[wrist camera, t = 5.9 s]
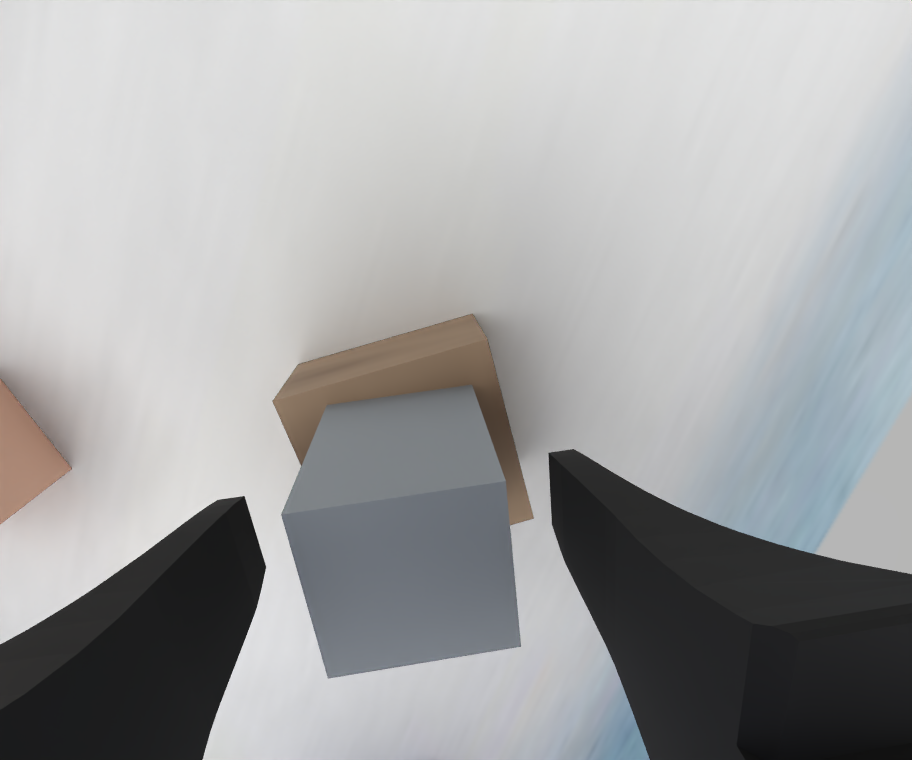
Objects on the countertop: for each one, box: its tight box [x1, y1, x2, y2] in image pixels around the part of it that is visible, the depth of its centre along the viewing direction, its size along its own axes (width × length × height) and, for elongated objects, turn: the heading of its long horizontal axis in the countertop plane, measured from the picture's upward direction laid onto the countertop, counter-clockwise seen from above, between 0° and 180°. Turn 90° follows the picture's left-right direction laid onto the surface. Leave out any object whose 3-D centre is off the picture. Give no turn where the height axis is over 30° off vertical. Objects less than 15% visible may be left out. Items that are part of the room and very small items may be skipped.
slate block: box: [281, 385, 521, 678], centre depth 12 cm, size 4×4×5 cm
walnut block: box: [273, 314, 533, 525], centre depth 16 cm, size 6×6×4 cm
